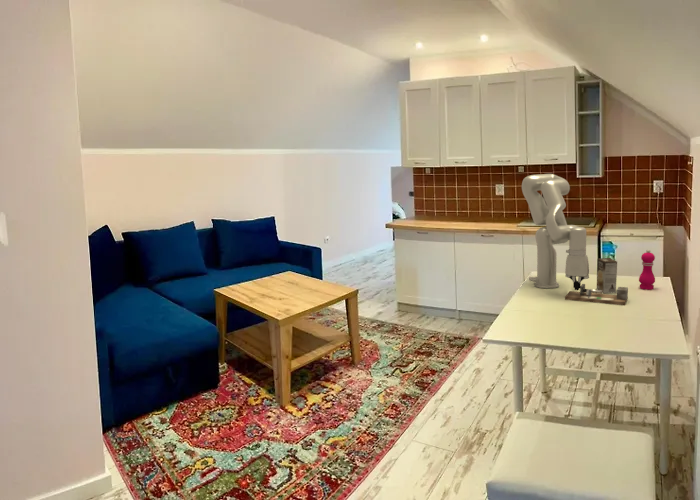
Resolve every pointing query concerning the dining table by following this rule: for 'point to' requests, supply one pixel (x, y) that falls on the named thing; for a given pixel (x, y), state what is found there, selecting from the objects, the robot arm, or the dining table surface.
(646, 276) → the pepper mill
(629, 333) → the dining table surface
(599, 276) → the coffee box
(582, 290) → the grey rod with block
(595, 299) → the base
